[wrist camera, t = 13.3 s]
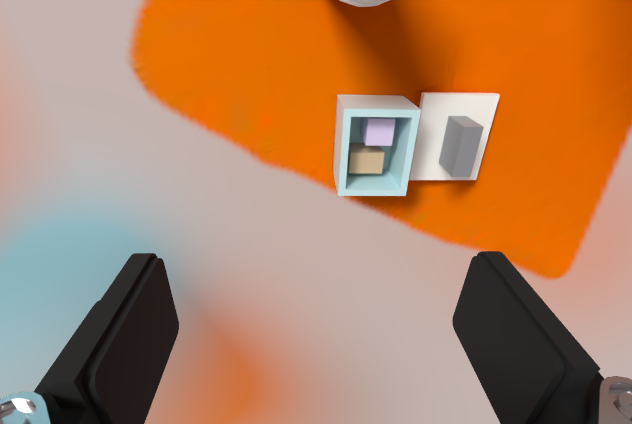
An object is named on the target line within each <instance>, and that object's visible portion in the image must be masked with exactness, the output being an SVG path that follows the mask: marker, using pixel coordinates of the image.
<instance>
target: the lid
mask: <svg viewBox="0 0 632 424" xmlns="http://www.w3.org/2000/svg"><path fill="white" fill-rule="evenodd" d="M499 96H500V95H499V94H497V93H445V92H422V94H421V100H420V106H419V109H421V113H420V119H419V124H418V130H417V136H416V141H415V147H414V152H413V158H412V163H411V169H410V175H409V180H476V178H477V175H478V171H479V167H480V164H481V160H482V157H483V153H484V150H485V146H486V143H487V139H488V135H489V132H490V128H491V125H492V121H493V118H494V114H495V110H496V107H497V103H498V100H499Z"/></svg>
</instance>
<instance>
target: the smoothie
mask: <svg viewBox="0 0 632 424" xmlns="http://www.w3.org/2000/svg"><path fill="white" fill-rule="evenodd" d="M340 1H342V2H345V3H348V4H351V5H354V6H357V7H367V6H377V5H380V4H382V3H385V2H387V1H389V0H340Z"/></svg>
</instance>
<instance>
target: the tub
mask: <svg viewBox="0 0 632 424" xmlns="http://www.w3.org/2000/svg"><path fill="white" fill-rule="evenodd" d="M420 113H421V109H419V108H418V107H417V106H416V105H414V104H413V103H412V102H411V101H409V100H408V99H407V98H406V97H404V96H399V95H346V94H337V106H336V124H335V142H334V160H333V175H334V179H335V184H336V188H337V193H338V196H406V191H407V186H408V180H409V175H410V169H411V163H412V158H413V152H414V147H415V141H416V136H417V130H418V124H419V119H420Z"/></svg>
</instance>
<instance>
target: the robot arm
mask: <svg viewBox="0 0 632 424" xmlns="http://www.w3.org/2000/svg"><path fill="white" fill-rule="evenodd" d="M453 327H454V330H455V332H456V334H457V336H458V338H459V340H460V342H461V344H462V346H463V348H464V350H465V352H466V354H467V356H468V358H469V360H470V362H471V364H472V367H473V368H474V371H475V372H476V375H477V377H478V379H479V381H480V383H481V385H482V387H483V389H484V391H485V393H486V395H487V397H488V399H489V401H490V403H491V405H492V407H493V409H494V411H495V413H496V415H497V417H498V419H499V421H500V423H501V424H632V380H631V379H628V378H624V377H618V376H613V377H607V378H606V379H604V378H603V377H602V376H601V374H600V373H599V372H598V371H599V370H600V368H599V367H598V365H597V364H596V363H595V362H594V360H593V359H592V358H591V357H590V356H589V355H588V354H587V352H586V351H585V350H584V349H583V348H582V346H581V345H580V344H579V343H578V342H577V340H576V339H575V338H574V337H573V336H572V334H571V333H570V332H569V331H568V330H567V329H566V327H565V326H564V325H563V324H562V323H561V321H560V320H558V318H557V317H556V316H555V314H554V313H553V312H552V311H551V310H550V309H549V308H548V306H547V305H546V304H545V303H544V301H543V300H542V299H541V298H540V297H539V296H538V294H537V293H536V292H535V291H534V290H533V288H532V287H531V286H530V285H529V284H528V283H527V281H526V280H525V279H524V278H523V277H522V276H521V274H520V273H519V272H518V271H517V270H516V268H515V267H514V266H513V265H512V264H511V263H510V261H509V260H508V259H507V258H506V257H505V255H504V254H503V253H501V252H499V251H485V252H479V253H478V254H477V256H474V257H473V258H472V260H471V263H470V266H469V269H468V272H467V275H466V278H465V281H464V285H463V288H462V291H461V294H460V297H459V300H458V303H457V306H456V309H455V312H454V315H453ZM178 330H179V321H178V318H177V313H176V309H175V306H174V301H173V298H172V294H171V290H170V285H169V282H168V277H167V273H166V269H165V266H164V262H163V260H162V259H161V258H157V256H156V254H154V253H145V254H144V253H143V254H141V253H140V254H133V255H131V257H130V258H129V259H128V261H127V262H126V264H125V265H124V267H123V268H122V270H121V271H120V273H119V274H118V275H117V277H116V278H115V280H114V281H113V283H112V284H111V286H110V287H109V289H108V290H107V291H106V293H105V294H104V296H103V297H102V299H101V300H100V301H98V302H97V303H96V304H95V305H94V306H93V307H92V309H91V310H90V311H89V313H88V314H87V316H86V317H85V319H84V320H83V322H82V323H81V325H80V326H79V327H78V329H77V330H76V332H75V333H74V334H73V336H72V337H71V339H70V340H69V342H68V343H67V345H66V346H65V347H64V349H63V350H62V352H61V353H60V355H59V356H58V358H57V359H56V361H55V362H54V363H53V365H52V366H51V367H50V369H49V370H48V372H47V373H46V375H45V376H44V378H43V379H42V380H41V382H40V383H39V385H38V386H37V388H36V389H35V391H34V392H19V393H14V394H10V395H8V396H6V397H3V398H1V399H0V424H144V423H145V420H146V417H147V415H148V412H149V409H150V407H151V404H152V401H153V399H154V396H155V393H156V391H157V388H158V385H159V382H160V380H161V377H162V374H163V372H164V369H165V366H166V364H167V361H168V359H169V356H170V353H171V350H172V348H173V345H174V343H175V340H176V337H177V334H178Z"/></svg>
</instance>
